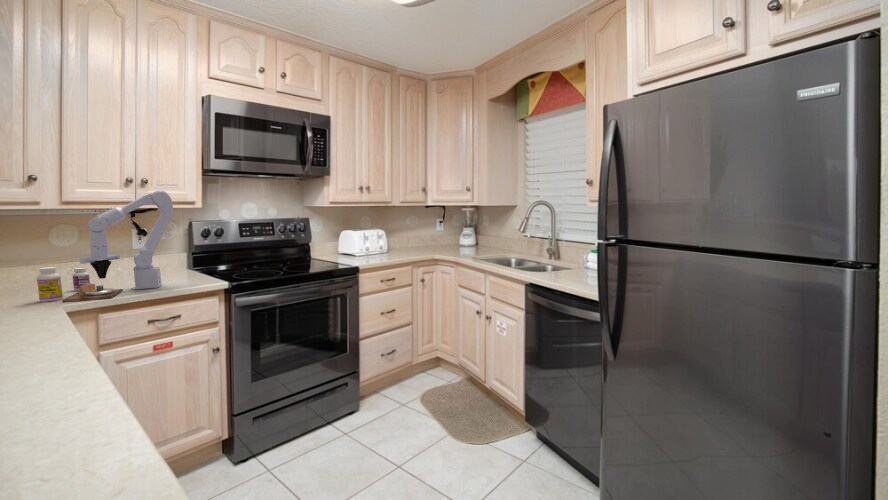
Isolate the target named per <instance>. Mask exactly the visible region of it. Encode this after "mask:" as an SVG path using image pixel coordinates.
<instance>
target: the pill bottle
mask: <svg viewBox="0 0 888 500" xmlns="http://www.w3.org/2000/svg"><path fill="white" fill-rule="evenodd" d="M73 271H74V273H72V285H73V290H74V291H75V292H80V290H79V286H83V284H91V283H90V282H91V281H90V273H89V272H87V268H86V267H75V268H74V269H73Z"/></svg>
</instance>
